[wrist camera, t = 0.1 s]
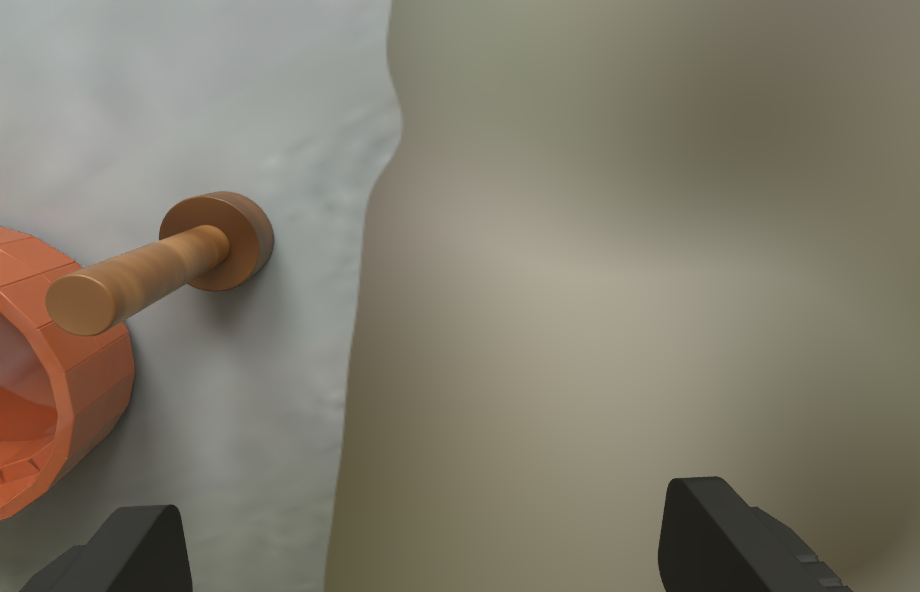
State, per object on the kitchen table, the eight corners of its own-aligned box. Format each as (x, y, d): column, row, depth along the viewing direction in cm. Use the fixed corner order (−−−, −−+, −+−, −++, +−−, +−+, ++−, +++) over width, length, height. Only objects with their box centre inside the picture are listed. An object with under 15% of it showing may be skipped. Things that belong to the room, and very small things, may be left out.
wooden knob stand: (277, 278, 31) (172, 377, 18) (189, 278, 31) (13, 379, 17) (270, 191, 30) (150, 228, 16) (177, 190, 29) (-25, 227, 16)
